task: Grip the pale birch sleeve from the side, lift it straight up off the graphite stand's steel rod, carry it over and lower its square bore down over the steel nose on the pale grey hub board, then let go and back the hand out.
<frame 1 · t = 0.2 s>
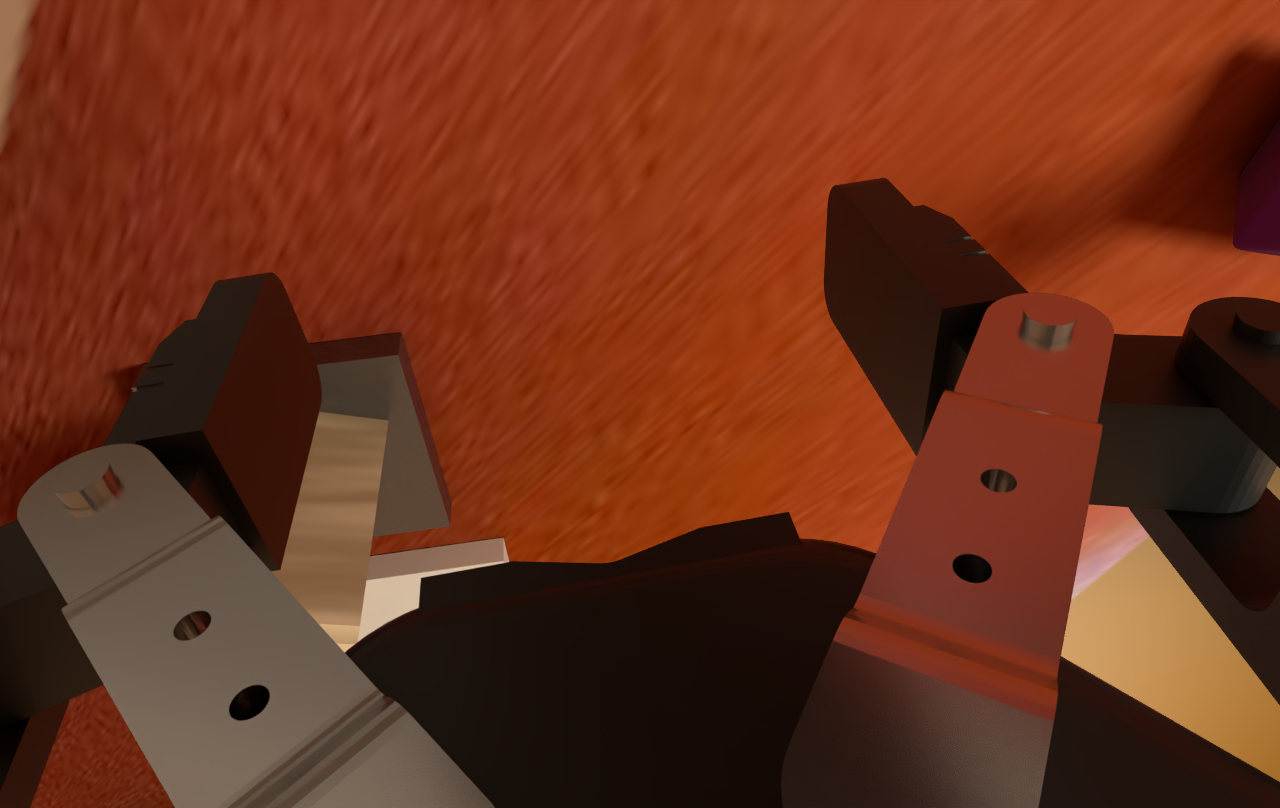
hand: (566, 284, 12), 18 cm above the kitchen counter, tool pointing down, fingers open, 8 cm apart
sleeve: (307, 464, 35), point 1 cm above the kitchen counter, touching stand
stand: (312, 440, 36), on the kitchen counter
hub board: (396, 638, 46), on the kitchen counter
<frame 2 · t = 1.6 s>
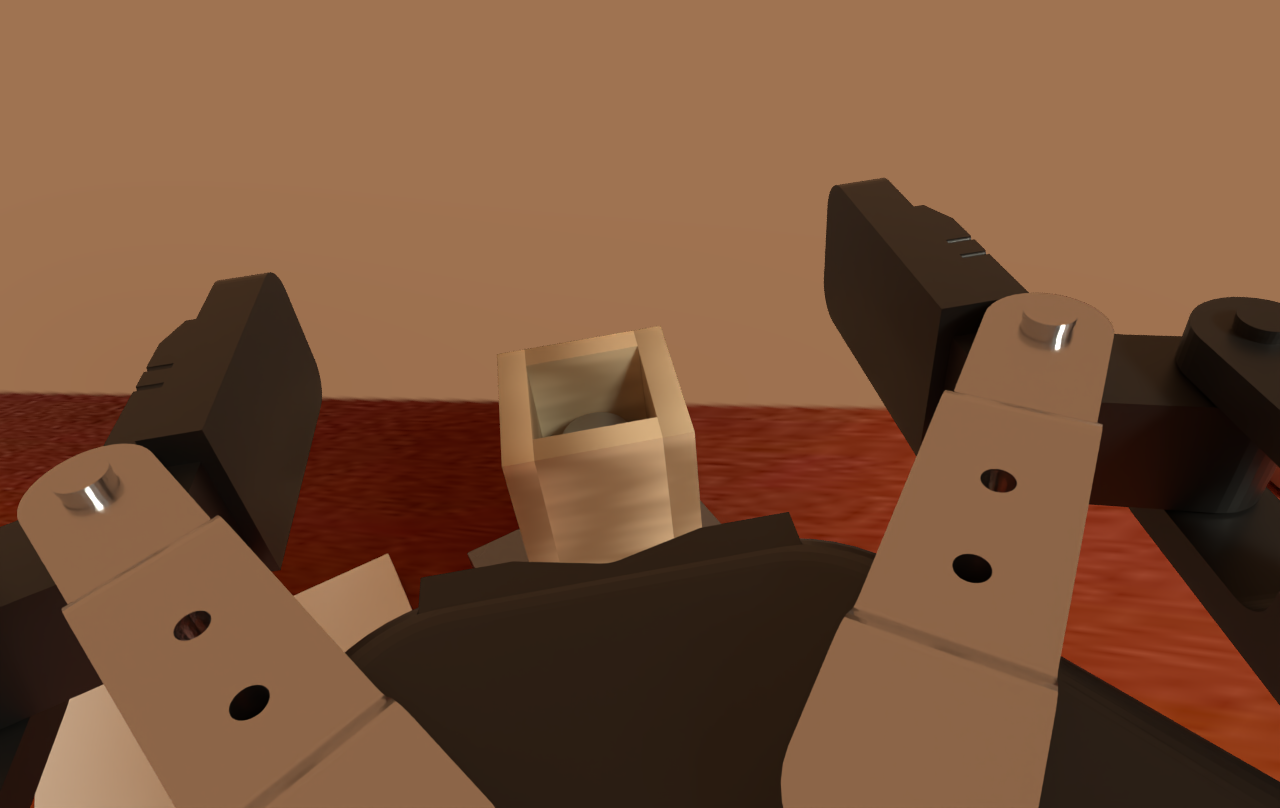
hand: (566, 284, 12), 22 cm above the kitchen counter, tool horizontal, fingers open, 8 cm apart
sleeve: (622, 578, 34), point 1 cm above the kitchen counter, touching stand
stand: (626, 601, 35), on the kitchen counter
hub board: (266, 787, 30), on the kitchen counter
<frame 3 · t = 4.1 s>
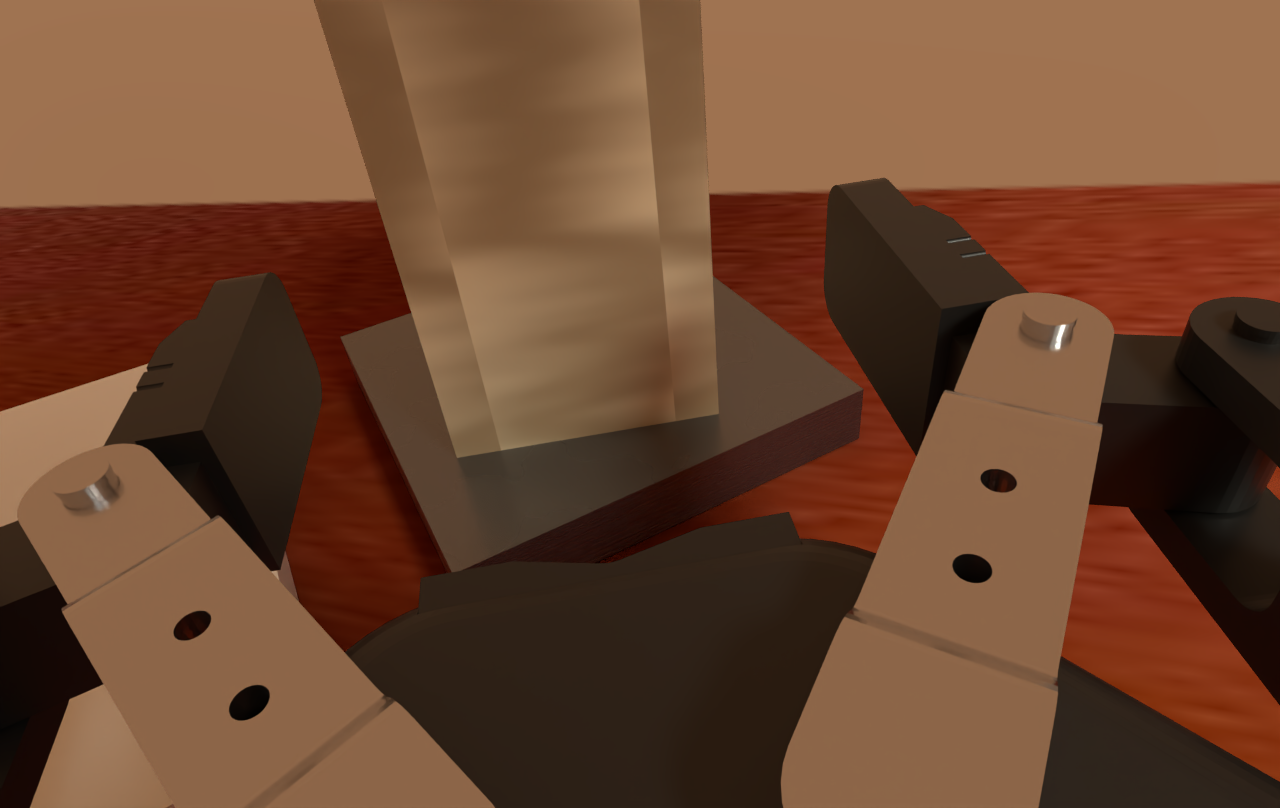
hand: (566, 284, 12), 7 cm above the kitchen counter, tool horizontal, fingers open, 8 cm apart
sleeve: (577, 360, 21), point 1 cm above the kitchen counter, touching stand
stand: (585, 406, 22), on the kitchen counter
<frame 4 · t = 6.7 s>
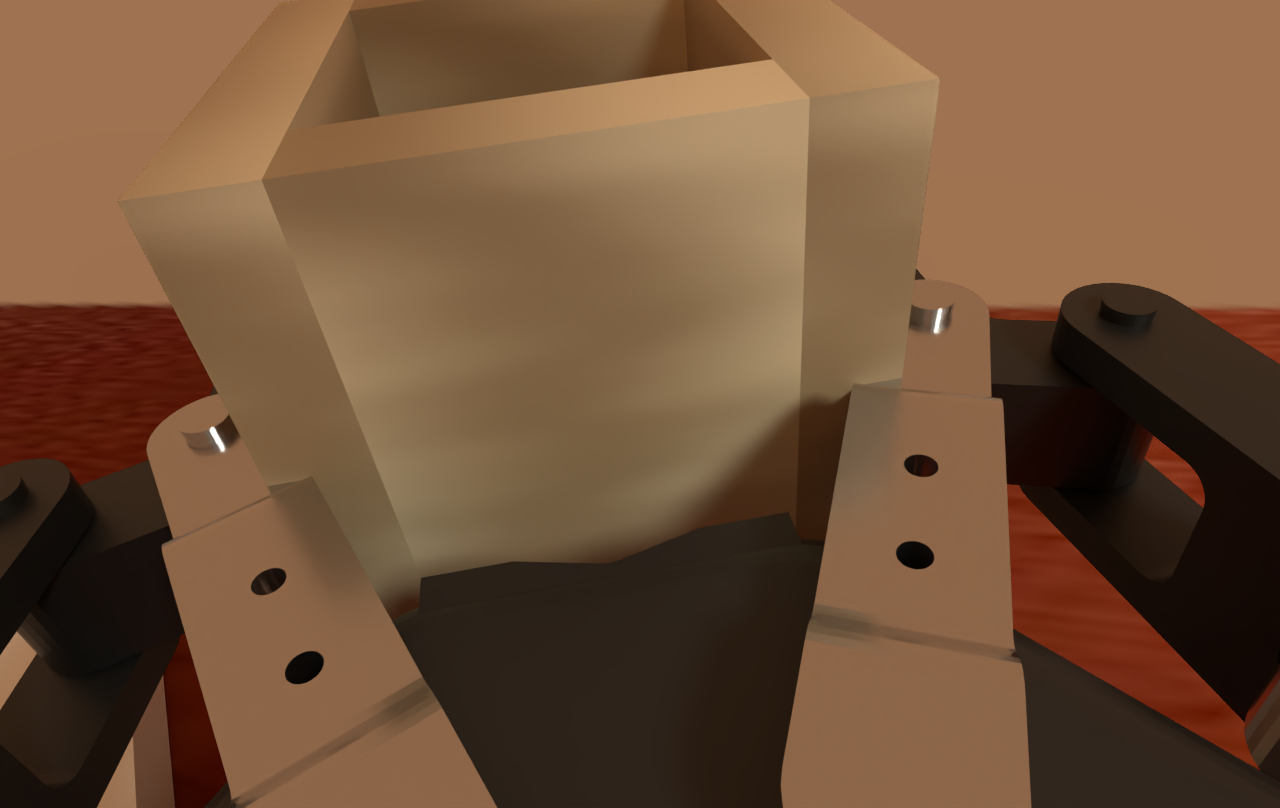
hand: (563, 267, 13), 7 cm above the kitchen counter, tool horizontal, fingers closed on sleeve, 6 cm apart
sleeve: (627, 632, 15), point 2 cm above the kitchen counter, touching gripper, stand
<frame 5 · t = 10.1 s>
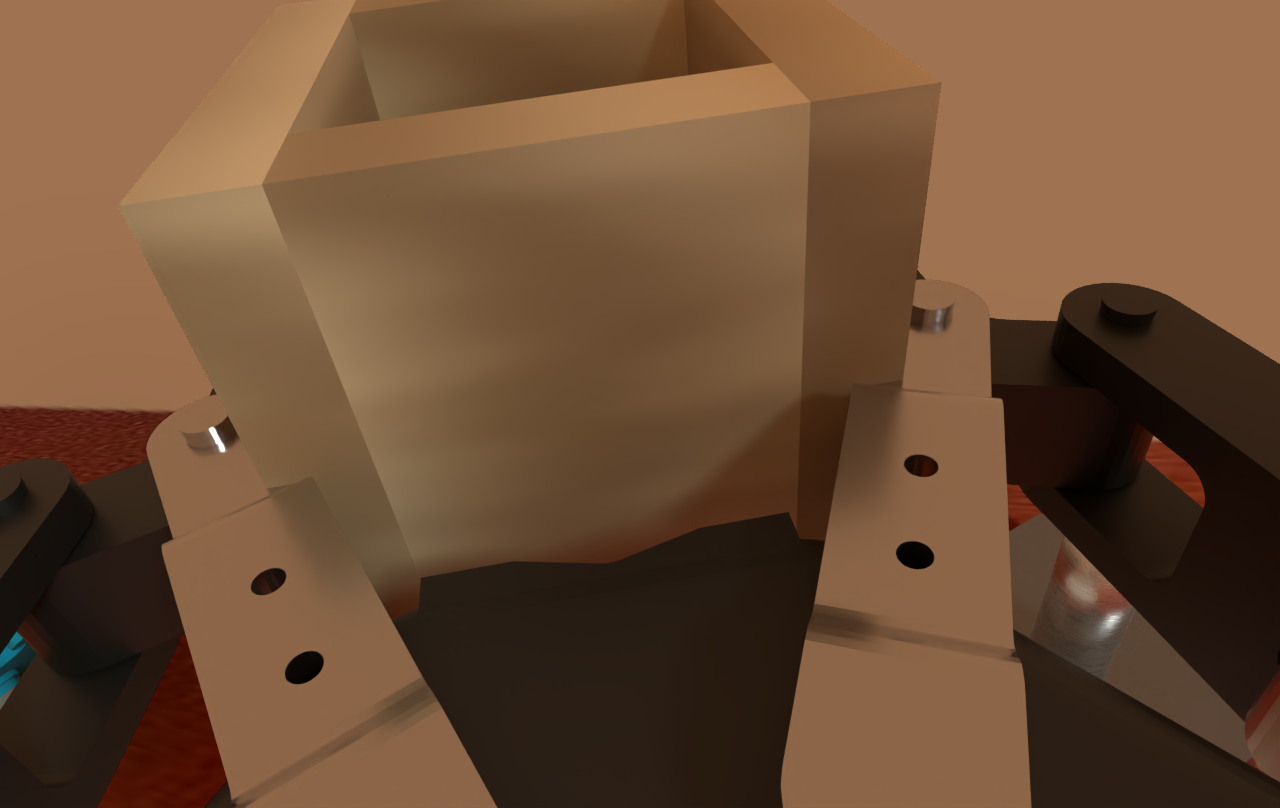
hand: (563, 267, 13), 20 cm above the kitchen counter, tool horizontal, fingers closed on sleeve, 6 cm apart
gear: (28, 759, 30), on the kitchen counter
sleeve: (627, 634, 15), point 14 cm above the kitchen counter, touching gripper
stand: (1055, 687, 28), on the kitchen counter
when the fingers open (8 cm above the kitchen counter, at t = 14.0 s): sleeve stays where it is, resting on hub board.
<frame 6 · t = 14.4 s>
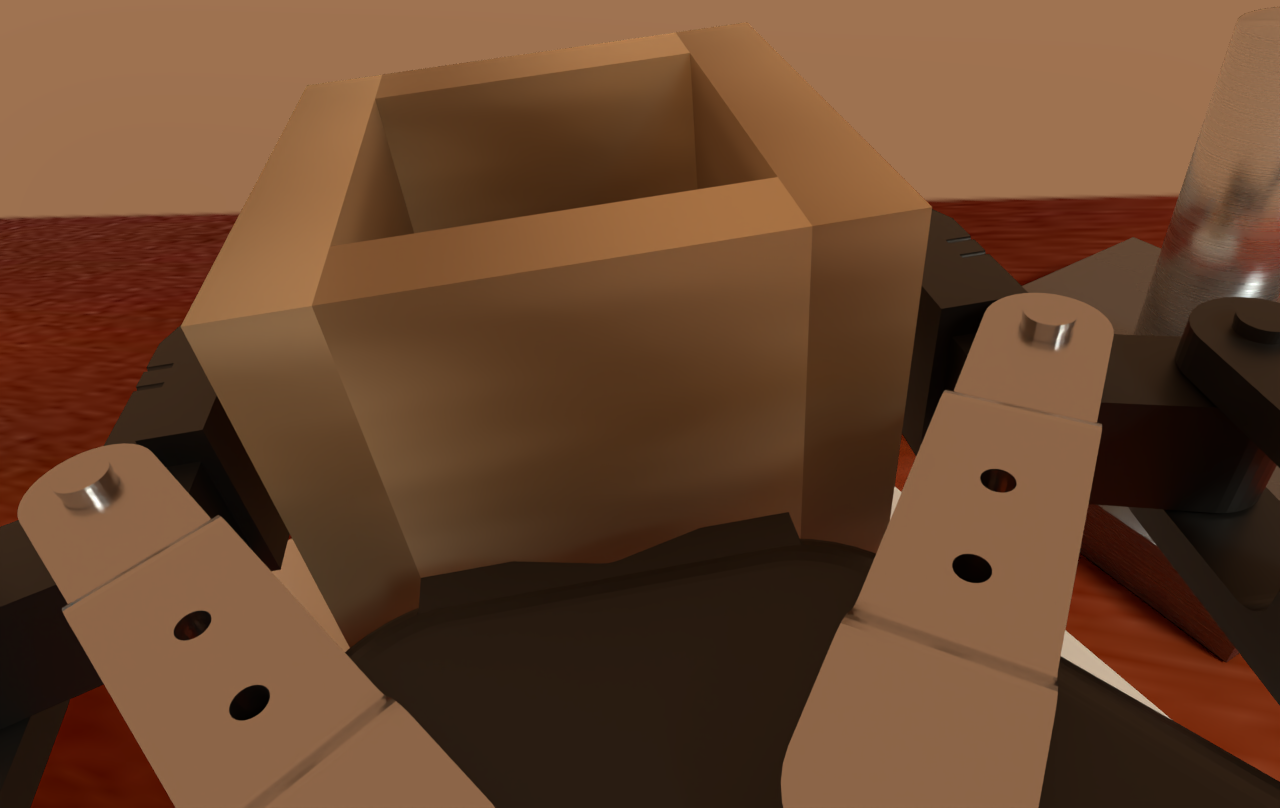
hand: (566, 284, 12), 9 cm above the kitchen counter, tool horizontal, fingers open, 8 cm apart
sleeve: (635, 669, 15), point 1 cm above the kitchen counter, touching hub board
stand: (1160, 424, 21), on the kitchen counter
hub board: (639, 712, 16), on the kitchen counter
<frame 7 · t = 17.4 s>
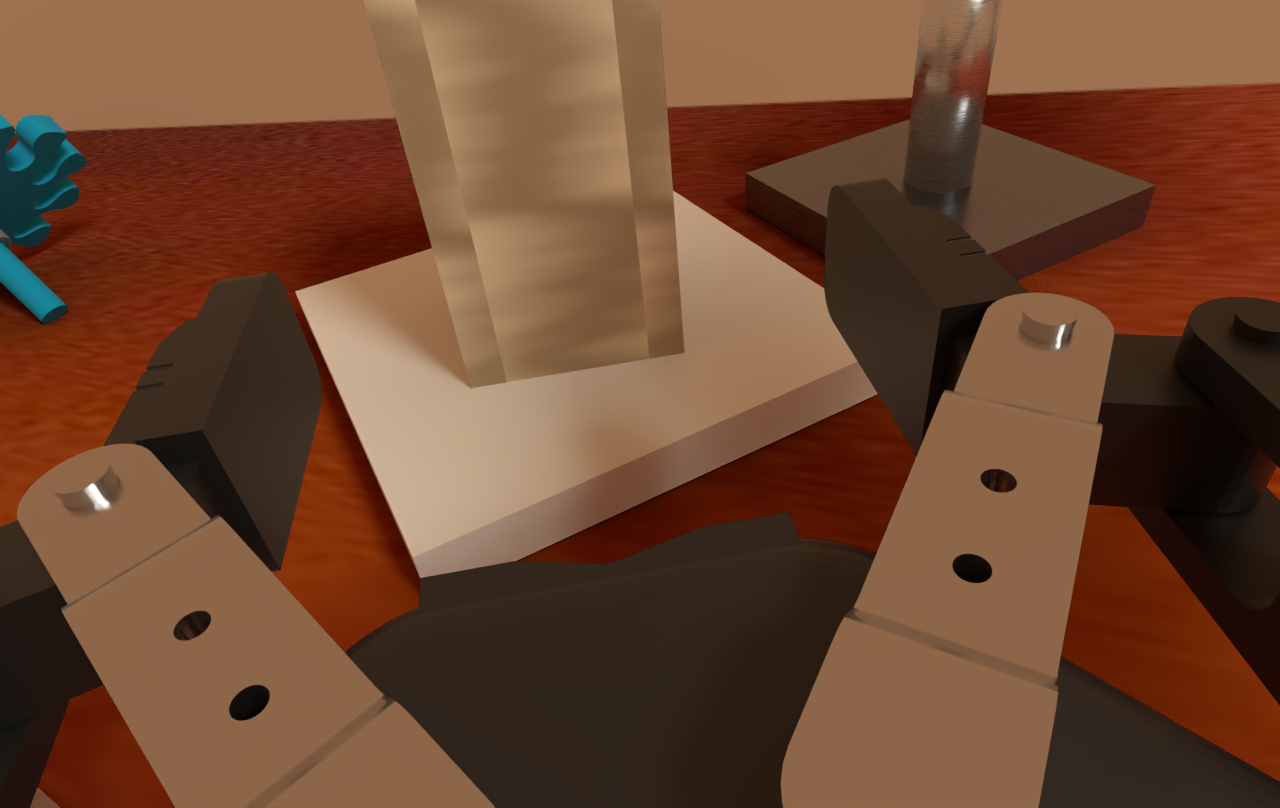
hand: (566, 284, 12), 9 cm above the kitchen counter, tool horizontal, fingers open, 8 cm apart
gear: (0, 315, 33), on the kitchen counter
sleeve: (569, 314, 25), point 1 cm above the kitchen counter, touching hub board
stand: (932, 216, 31), on the kitchen counter
hub board: (574, 353, 26), on the kitchen counter
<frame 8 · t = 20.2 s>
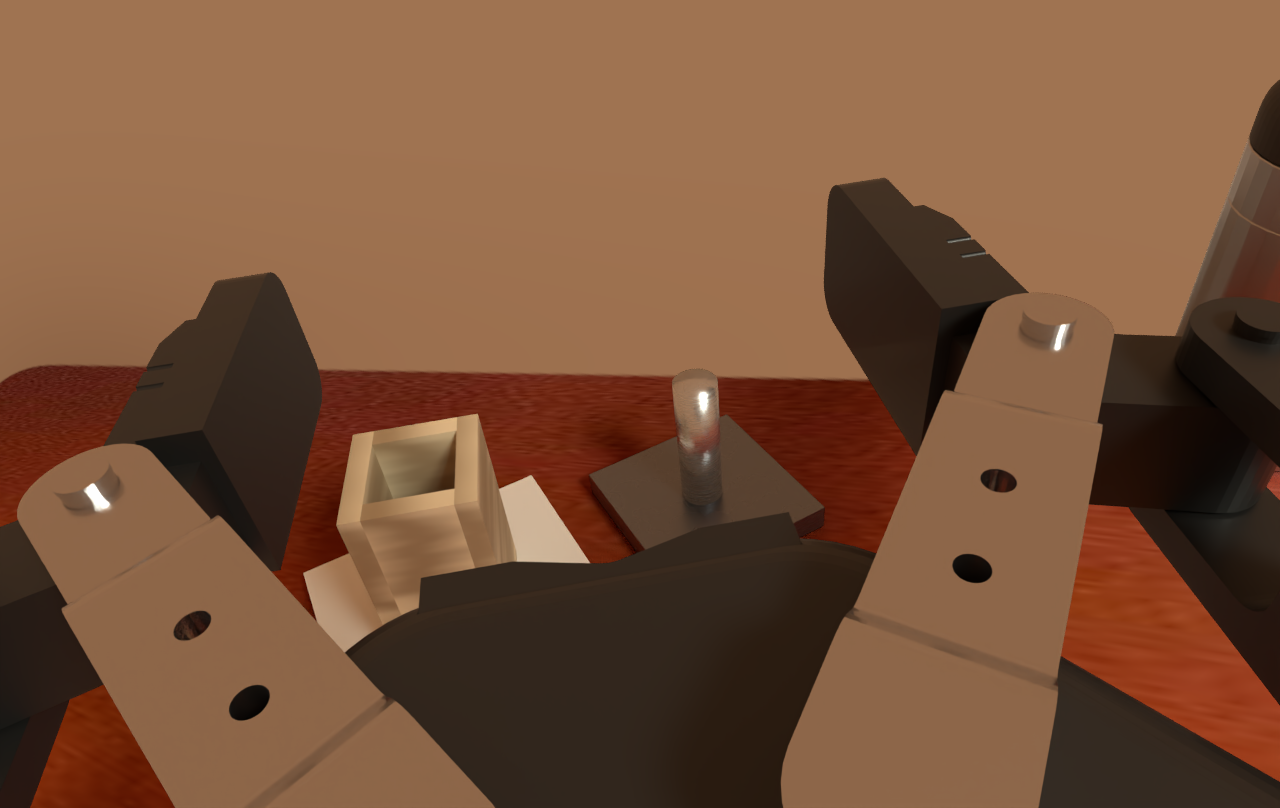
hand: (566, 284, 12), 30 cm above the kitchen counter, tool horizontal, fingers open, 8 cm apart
sleeve: (461, 604, 44), point 1 cm above the kitchen counter, touching hub board
stand: (703, 508, 50), on the kitchen counter
hub board: (467, 620, 45), on the kitchen counter
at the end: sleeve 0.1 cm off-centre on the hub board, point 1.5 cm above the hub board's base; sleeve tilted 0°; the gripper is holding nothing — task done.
